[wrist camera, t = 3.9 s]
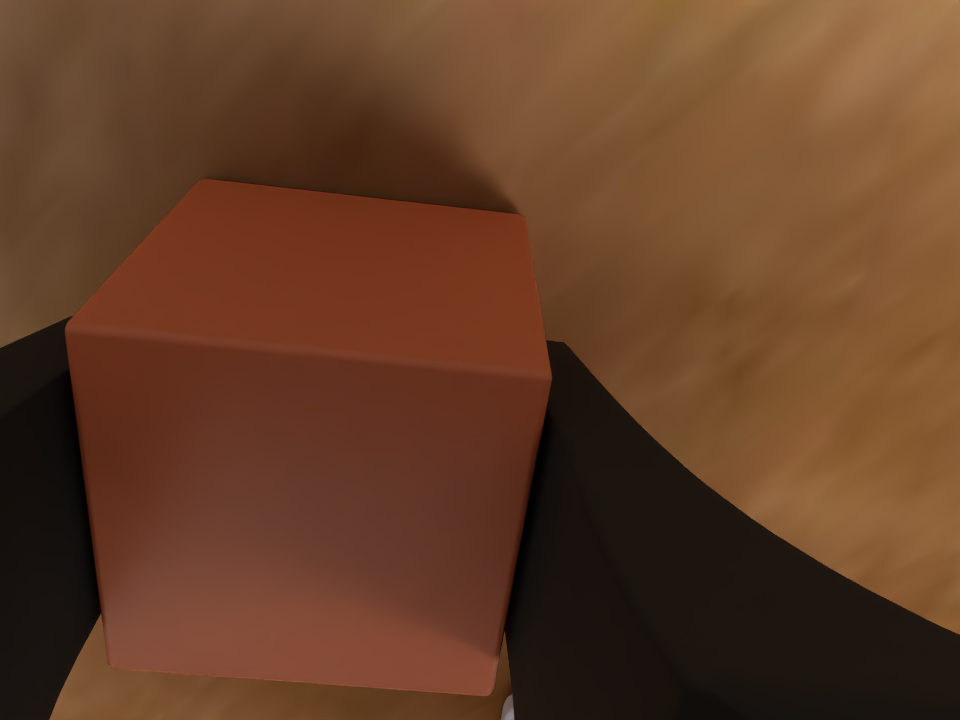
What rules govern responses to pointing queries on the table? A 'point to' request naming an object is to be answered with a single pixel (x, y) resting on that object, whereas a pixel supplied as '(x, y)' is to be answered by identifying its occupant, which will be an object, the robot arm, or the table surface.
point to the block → (312, 438)
